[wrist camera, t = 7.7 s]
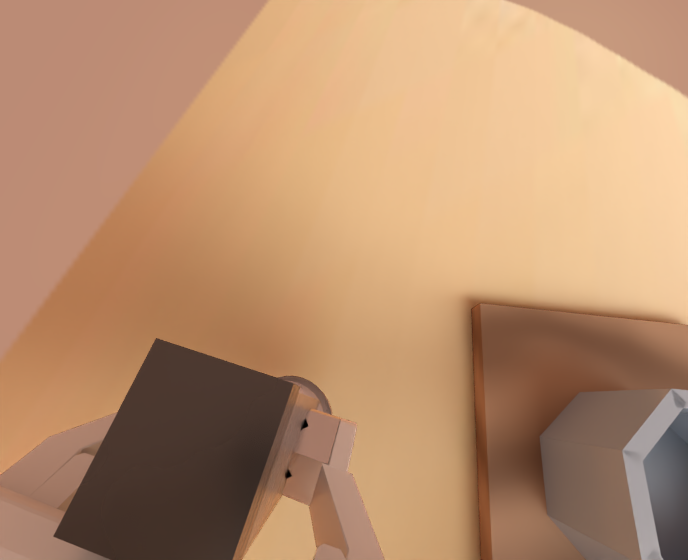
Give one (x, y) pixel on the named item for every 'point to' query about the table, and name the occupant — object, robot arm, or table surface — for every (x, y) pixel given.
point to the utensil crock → (620, 474)
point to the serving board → (549, 406)
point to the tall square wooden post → (190, 460)
